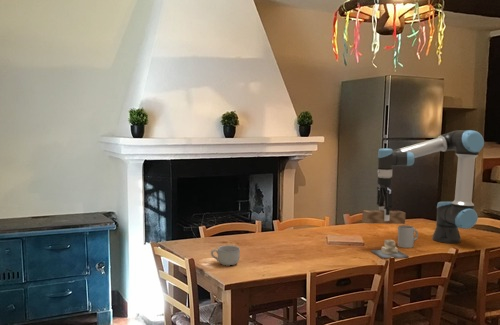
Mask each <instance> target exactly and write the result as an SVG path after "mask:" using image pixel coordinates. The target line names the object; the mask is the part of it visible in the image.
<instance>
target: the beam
mask: <svg viewBox="0 0 500 325" xmlns="http://www.w3.org/2000/svg"><path fill="white" fill-rule="evenodd" d="M406 214H407V213H406V212H404V211H401V210H390V221H384V211H379V210H374V209H373V210H367V209H363V210H362V214H361V216H362V218H361V222H363V223H365V224H380V225H381V224H385V225H387V224H388V225H389V224H392V225H394V224H395V225H396V224H397V225H398V224H399V225H406V216H407V215H406Z"/></svg>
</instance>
